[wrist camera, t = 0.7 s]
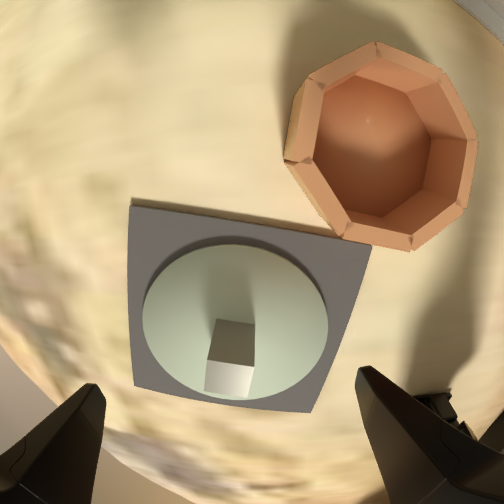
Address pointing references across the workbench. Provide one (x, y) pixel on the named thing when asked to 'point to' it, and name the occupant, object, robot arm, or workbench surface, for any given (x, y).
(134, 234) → the mat
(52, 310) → the workbench surface
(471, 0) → the wireless router
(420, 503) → the robot arm
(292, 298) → the pale green round piece
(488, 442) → the chair
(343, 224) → the bowl
